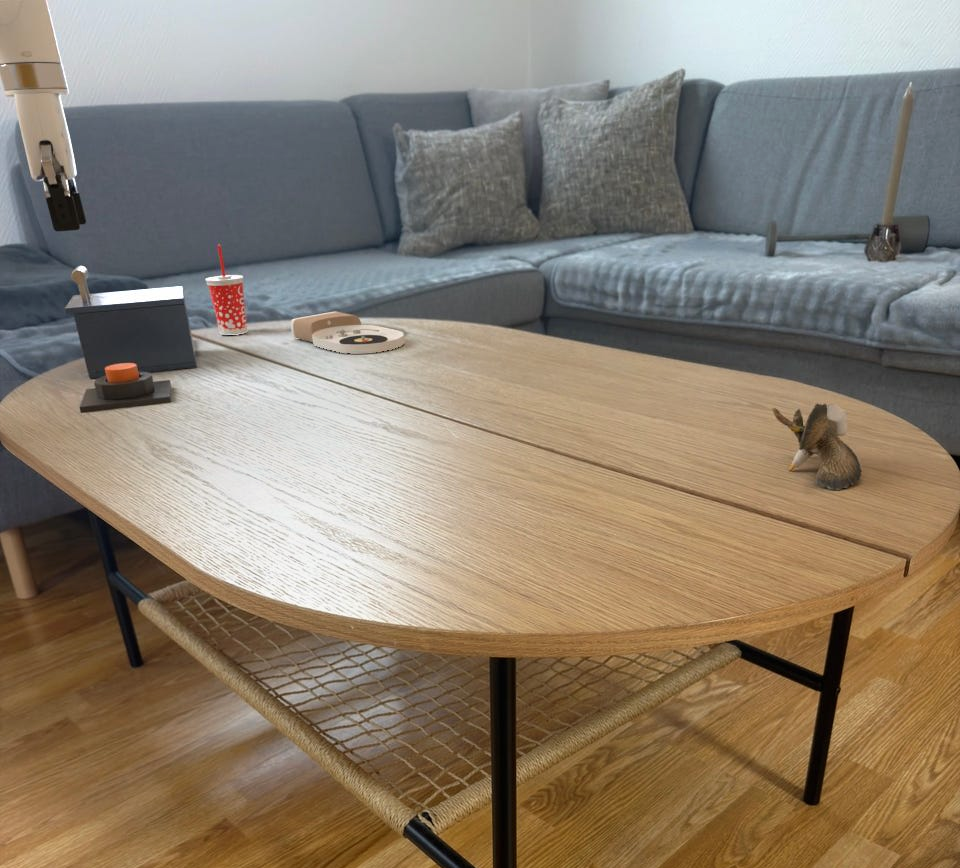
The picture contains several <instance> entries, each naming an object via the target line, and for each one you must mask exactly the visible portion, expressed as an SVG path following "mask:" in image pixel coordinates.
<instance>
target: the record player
mask: <svg viewBox="0 0 960 868" xmlns="http://www.w3.org/2000/svg"><path fill="white" fill-rule="evenodd" d="M290 332H291V336H292V337H293V338H294V337H295V338H294V339H296V338H299V339H298V340H300V339H303V340H302V341H304V340H307V341H311V342H313V343H312V344H313V346H314V347H316V346H317V347H316V348H319V347H320V349H323V348H324V349H323V350H326V349H327V351H330V350H332V351H331V352H334V351H336V352H335V353H339V352H340V354H347V353H350V354H349V355H362V354H377V353H383V352H382V351H384V352H388V351H387V350H389V351H392V349H393V350H396V349H399V348H401V347H403V346H404V345H405V333H404V332H403V331H401V330H397V329H393V328H390V327H389V328H388V327H384V326H380V325H379V326H378V325H374V324H373V325H372V324H362V322H361V319H360V317H358V316H357V315H355V314H350V313H346V312H340V311H336V310H335V311H330V312H329V311H328V312H324V313H323V312H322V313H318V314H312V315H307V316H301V317H296V318H293V319H291V320H290ZM307 341H306V342H307ZM311 342H310V343H311ZM403 344H404V345H403ZM402 345H403V346H402ZM398 347H399V348H398ZM395 348H396V349H395ZM376 352H377V353H376Z"/></svg>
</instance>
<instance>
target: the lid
mask: <svg viewBox="0 0 960 868" xmlns="http://www.w3.org/2000/svg"><path fill="white" fill-rule="evenodd" d="M88 278H89V270H88V269H87V268H86V267H85V266H83V265H78V266H77V267H75V268H74V269H73V271H72V272H71V280H72V281H73V282H74V283H75V284H77V286H78V291H79V294H74V295H72V297H71V298H70V300H69V302H68V303H67V304H66V306H65V307H64V312H65V315H73V314H77V313H88V312H99V311H110V310H121V309H133V308H144V307H155V306H166V305H177V304H184V297H185V292H184V288H183V287H184V286H182V285H181V286H170V287H168V286H167V287H156V288H146V289H135V290H134V289H133V290H122V291H111V292H99V293H90V290H89V287H88V282H87V279H88Z"/></svg>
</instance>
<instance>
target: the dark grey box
mask: <svg viewBox="0 0 960 868" xmlns="http://www.w3.org/2000/svg"><path fill="white" fill-rule="evenodd" d="M72 315H73V318H74V319H73V320H74V322H75V323H74V324H75V327H76V330H77V334H78V339H79V343H80V347H81V351H82V355H83V358H84V363H85V366H86V370H87V373H88V378H89V380H95V379H97V378H100V377H102V376H105V375H106V372H105V367H107V366H110V365H114V364H121V363H134V364H136V365H137V369H138V371H140V372H148V373H157V372H158V373H159V372H168V370H169V371H176V370H175V369H178V370H183V369H182V368H187V369H192V368H191V367H196V368H198V365H196V364H197V357H195V356H196V350H195V349H196V348H195V344H194V339H193V334H192V328H191V324H190V318H189V312H188V308H187V303H186V297H185V296H184V304H177V305H166V306H155V307H144V308H133V309H121V310H110V311H99V312H88V313H77V314H72Z"/></svg>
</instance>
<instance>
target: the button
mask: <svg viewBox="0 0 960 868" xmlns="http://www.w3.org/2000/svg"><path fill="white" fill-rule="evenodd" d="M105 372H106V376H107V380H108V382H125V381H131V380H135V379H138V378H139V374H138V369H137V365H136V364H134V363H121V364H114V365H110V366H107V367H105Z"/></svg>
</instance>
